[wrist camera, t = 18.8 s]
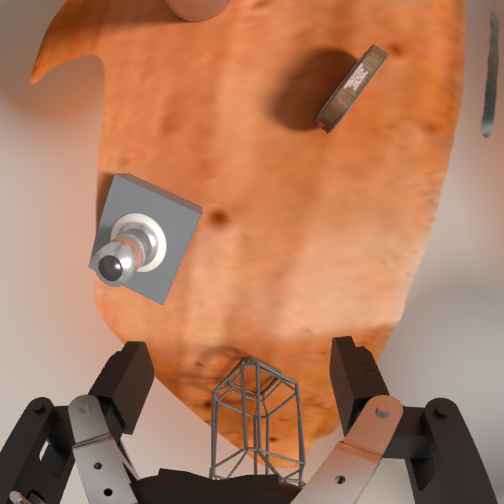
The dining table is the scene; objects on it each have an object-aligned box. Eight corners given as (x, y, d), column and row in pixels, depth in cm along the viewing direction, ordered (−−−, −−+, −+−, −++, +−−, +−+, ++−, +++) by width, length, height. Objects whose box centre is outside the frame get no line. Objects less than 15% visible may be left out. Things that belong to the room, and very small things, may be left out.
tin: (323, 135, 41) (337, 134, 33) (306, 122, 40) (316, 117, 32) (377, 64, 36) (399, 50, 28) (360, 51, 35) (380, 34, 28)
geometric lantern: (245, 332, 52) (239, 528, 19) (312, 368, 55) (346, 535, 23) (200, 382, 57) (173, 543, 24) (263, 411, 60) (268, 558, 27)
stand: (126, 171, 43) (113, 174, 39) (206, 208, 45) (200, 215, 40) (99, 257, 48) (87, 267, 44) (170, 292, 50) (162, 306, 46)
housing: (125, 214, 41) (93, 233, 32) (165, 233, 41) (140, 257, 33) (113, 252, 43) (82, 278, 34) (150, 271, 44) (126, 302, 35)
